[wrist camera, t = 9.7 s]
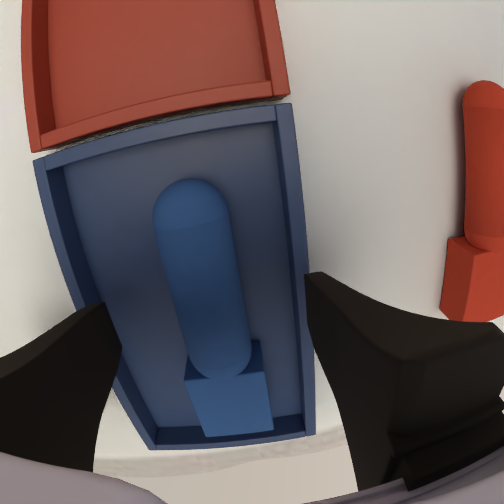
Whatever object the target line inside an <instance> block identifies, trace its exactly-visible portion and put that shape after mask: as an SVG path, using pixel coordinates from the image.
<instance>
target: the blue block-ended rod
mask: <svg viewBox="0 0 504 504" xmlns="http://www.w3.org/2000/svg"><path fill="white" fill-rule="evenodd" d="M152 221H153V228H154V232H155V236H156V241H157V245H158V249H159V253H160V257H161V261H162V265H163V268H164V272H165V276H166V280H167V284H168V287H169V291H170V294H171V298H172V302H173V305H174V309H175V312H176V315H177V319H178V322H179V326H180V329H181V332H182V335H183V339H184V342H185V345H186V348H187V351H188V356H187V362H186V368H185V374H184V384H185V386H186V389H187V392H188V394H189V397H190V399H191V402H192V404H193V407H194V409H195V412H196V414H197V417H198V419H199V422H200V424H201V427H202V429H203V431H204V434H205V436H206V437H215V436H227V435H237V434H246V433H255V432H262V431H270V430H274V425H273V418H272V411H271V404H270V397H269V391H268V385H267V379H266V372H265V366H264V360H263V354H262V348H261V341H260V340H256V341H251V340H250V334H249V329H248V323H247V317H246V312H245V306H244V301H243V295H242V289H241V283H240V278H239V272H238V266H237V260H236V254H235V248H234V242H233V236H232V230H231V224H230V218H229V212H228V208H227V204H226V202H225V200H224V198H223V196H222V194H221V193H220V192H219V191H218V190H217V189H216V188H215V187H214V186H213V185H211V184H209V183H207V182H205V181H202V180H199V179H183V180H179V181H176V182H174V183H172V184H170V185H169V186H168V187H166V188H165V189H164V190H163V191H162V192H161V194H160V195H159V196H158V198H157V200H156V202H155V204H154V208H153V213H152Z"/></svg>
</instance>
